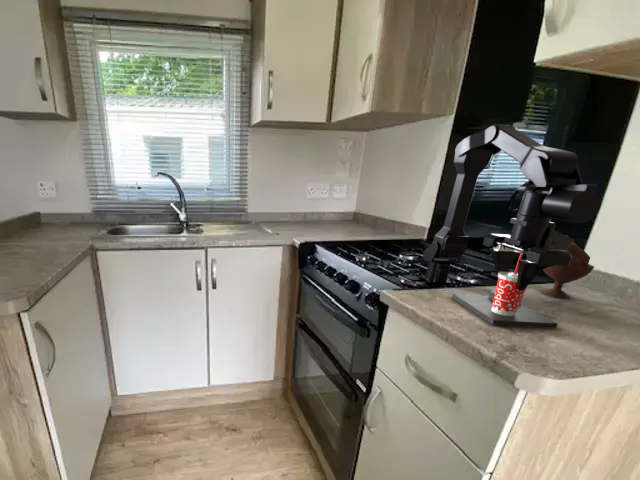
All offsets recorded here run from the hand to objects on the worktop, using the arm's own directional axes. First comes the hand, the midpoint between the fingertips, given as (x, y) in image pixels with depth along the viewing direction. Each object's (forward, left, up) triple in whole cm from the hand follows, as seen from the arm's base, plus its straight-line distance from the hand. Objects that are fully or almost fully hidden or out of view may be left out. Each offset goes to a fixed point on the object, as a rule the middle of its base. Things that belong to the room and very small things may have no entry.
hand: (510, 285), depth 80 cm
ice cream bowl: (-19, +28, -8) cm, 35 cm away
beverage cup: (0, 0, -7) cm, 7 cm away
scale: (-3, +2, -8) cm, 9 cm away
